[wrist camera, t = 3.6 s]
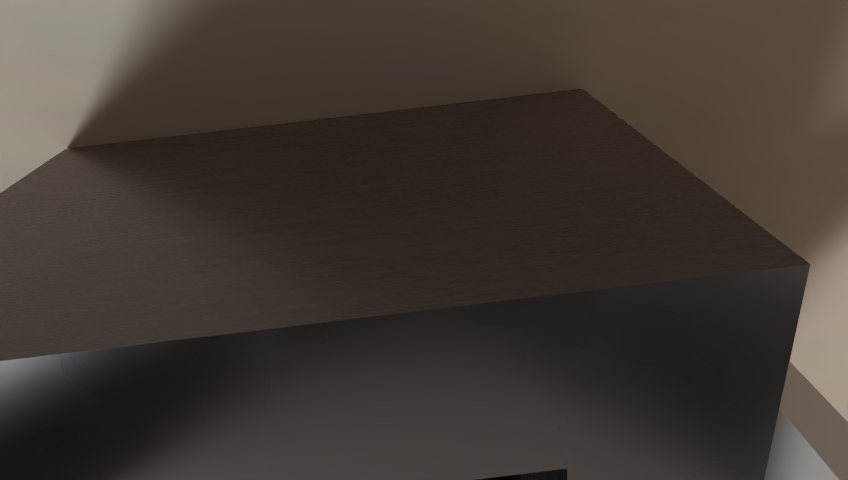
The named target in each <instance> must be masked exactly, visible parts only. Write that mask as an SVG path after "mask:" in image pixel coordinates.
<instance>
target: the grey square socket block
mask: <svg viewBox="0 0 848 480" xmlns="http://www.w3.org/2000/svg"><path fill="white" fill-rule="evenodd" d="M809 267H810V264H809V263H808V262H806V261H805V260H804V259H802V258H801V257H800V256H799V255H797V254H796V253H795V252H793V251H792V250H791V249H789V248H788V247H787V246H786V245H784V244H783V243H782V242H780V241H779V240H778V239H777V238H775V237H774V236H773V235H771V234H770V233H769V232H767V231H766V230H765V229H764V228H762V227H761V226H760V225H758V224H757V223H756V222H754V221H753V220H752V219H751V218H749V217H748V216H747V215H745V214H744V213H743V212H741V211H740V210H739V209H738V208H736V207H735V206H734V205H732V204H731V203H730V202H728V201H727V200H726V199H725V198H723V197H722V196H721V195H719V194H718V193H717V192H715V191H714V190H713V189H712V188H710V187H709V186H708V185H706V184H705V183H704V182H702V181H701V180H700V179H699V178H697V177H696V176H695V175H693V174H692V173H691V172H689V171H688V170H687V169H686V168H684V167H683V166H682V165H680V164H679V163H678V162H677V161H675V160H674V159H673V158H671V157H670V156H669V155H667V154H666V153H665V152H664V151H662V150H661V149H660V148H658V147H657V146H656V145H654V144H653V143H652V142H651V141H649V140H648V139H647V138H645V137H644V136H643V135H641V134H640V133H639V132H638V131H636V130H635V129H634V128H632V127H631V126H630V125H628V124H627V123H626V122H625V121H623V120H622V119H621V118H619V117H618V116H617V115H615V114H614V113H613V112H612V111H610V110H609V109H608V108H606V107H605V106H604V105H602V104H601V103H600V102H599V101H597V100H596V99H595V98H593V97H592V96H591V95H589V94H588V93H587V92H586V91H584V90H583V89H579V90H571V91H562V92H554V93H545V94H536V95H528V96H519V97H511V98H502V99H493V100H485V101H476V102H468V103H459V104H450V105H442V106H433V107H425V108H416V109H408V110H399V111H390V112H382V113H373V114H365V115H356V116H347V117H339V118H330V119H322V120H313V121H304V122H296V123H287V124H279V125H270V126H261V127H253V128H244V129H236V130H227V131H219V132H210V133H201V134H193V135H184V136H176V137H167V138H158V139H150V140H141V141H133V142H124V143H115V144H107V145H98V146H90V147H81V148H72V149H65V150H64V151H62V152H61V153H59V154H58V155H56V156H55V157H53V158H52V159H50V160H49V161H47V162H46V163H44V164H43V165H41V166H40V167H38V168H37V169H35V170H34V171H32V172H31V173H30V174H28V175H27V176H25V177H24V178H22V179H21V180H19V181H18V182H16V183H15V184H13V185H12V186H10V187H9V188H7V189H6V190H4V191H3V192H1V193H0V480H764V477H765V473H766V468H767V463H768V459H769V454H770V449H771V445H772V440H773V435H774V431H775V426H776V421H777V417H778V412H779V407H780V403H781V398H782V393H783V389H784V384H785V379H786V375H787V370H788V365H789V361H790V356H791V351H792V346H793V342H794V337H795V332H796V328H797V323H798V318H799V314H800V309H801V304H802V300H803V295H804V290H805V286H806V281H807V276H808V272H809Z"/></svg>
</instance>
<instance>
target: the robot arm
mask: <svg viewBox="0 0 848 480" xmlns="http://www.w3.org/2000/svg"><path fill="white" fill-rule="evenodd" d="M764 480H848V422H847V421H846V420H845V419H844V418H843V417H842V416H841V415H840V414H839V412H838V411H837V410H836V409H835V408H834V407H833V406H832V405H831V404H830V403H829V402H828V401H827V400H826V399H825V398H824V397H823V396H822V395H821V394H820V393H819V392H818V391H817V389H816V388H815V387H814V386H813V385H812V384H811V383H810V382H809V381H808V380H807V379H806V378H805V377H804V376H803V375H802V374H801V373H800V372H799V371H798V370H797V369H796V368H795V367H794V365H793V364H792V363H791V362H790V361H789V365H788V370H787V375H786V379H785V384H784V389H783V393H782V398H781V403H780V407H779V412H778V417H777V421H776V426H775V431H774V435H773V440H772V445H771V449H770V454H769V459H768V463H767V468H766V473H765V477H764Z"/></svg>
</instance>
